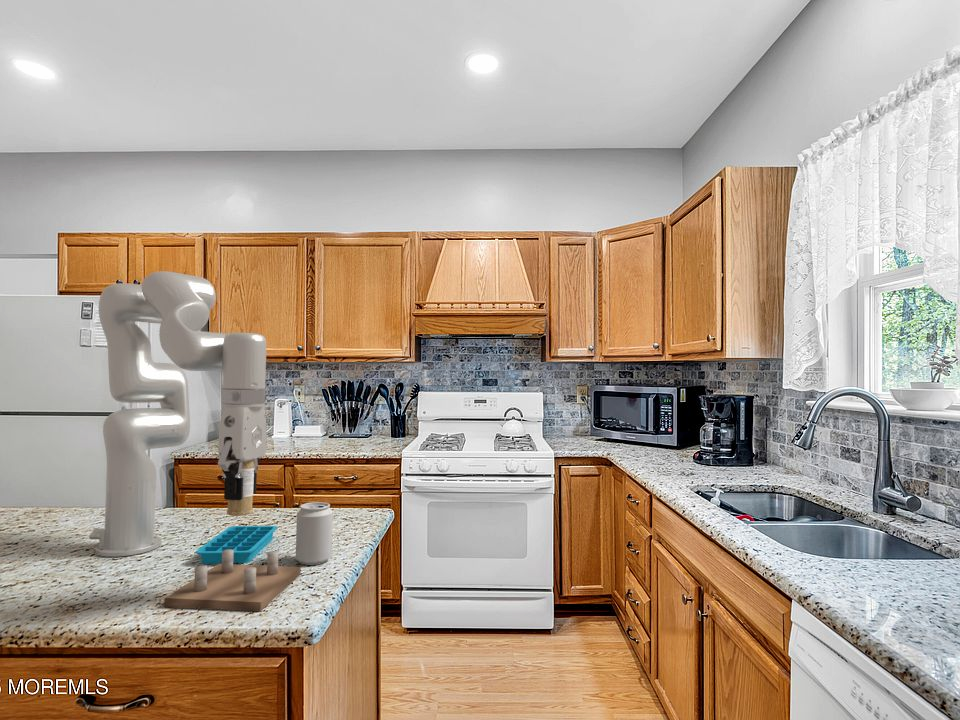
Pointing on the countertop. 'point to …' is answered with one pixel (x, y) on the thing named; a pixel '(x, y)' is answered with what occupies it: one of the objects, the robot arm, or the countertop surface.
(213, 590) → the peg board
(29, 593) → the countertop surface
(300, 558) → the can
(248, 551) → the ice cube tray
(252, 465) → the sprinkles bottle
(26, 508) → the countertop surface
